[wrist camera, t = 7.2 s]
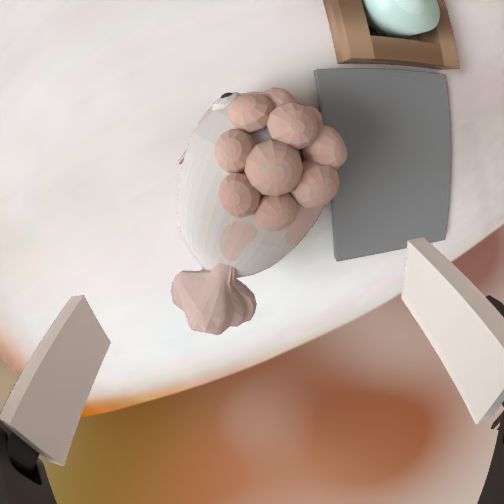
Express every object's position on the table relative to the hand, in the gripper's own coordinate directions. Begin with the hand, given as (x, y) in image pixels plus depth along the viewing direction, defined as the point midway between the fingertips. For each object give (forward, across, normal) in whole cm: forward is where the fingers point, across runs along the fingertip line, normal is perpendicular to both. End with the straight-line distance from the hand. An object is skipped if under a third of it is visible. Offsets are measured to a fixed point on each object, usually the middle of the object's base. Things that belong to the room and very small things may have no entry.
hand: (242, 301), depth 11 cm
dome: (+13, +14, +14) cm, 24 cm away
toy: (+14, 0, 0) cm, 14 cm away
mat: (+13, +13, +1) cm, 19 cm away
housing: (+13, +14, +14) cm, 24 cm away
